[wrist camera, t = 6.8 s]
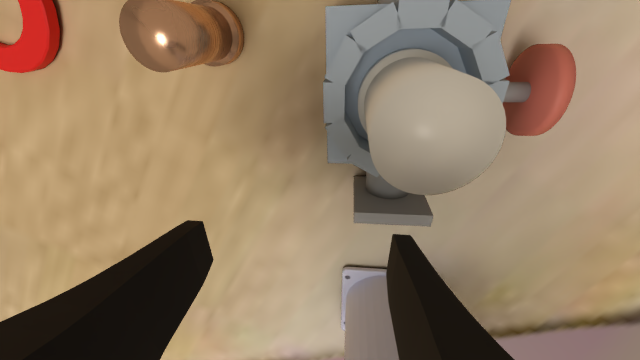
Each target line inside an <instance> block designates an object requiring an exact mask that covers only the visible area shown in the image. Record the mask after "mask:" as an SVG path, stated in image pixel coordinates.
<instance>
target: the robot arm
mask: <svg viewBox="0 0 640 360" xmlns="http://www.w3.org/2000/svg"><path fill="white" fill-rule="evenodd" d="M212 262H213V256H212V253H211V249H210V246H209V242H208V239H207V235H206V231H205V228H204V224H203V221H189V220H188V221H186V222H184V223H182V224H180V225H179V226H177V227H175V228H174V229H172V230H170V231H169V232H167V233H166V234H164V235H162V236H161V237H159V238H158V239H156V240H154V241H153V242H151V243H150V244H148V245H146V246H145V247H143V248H142V249H140V250H138V251H137V252H135V253H134V254H132V255H130V256H129V257H127V258H125V259H124V260H122V261H120V262H118V263H117V264H115V265H113V266H111V267H110V268H108V269H106V270H105V271H103V272H101V273H99V274H98V275H96V276H94V277H92V278H91V279H89V280H87V281H85V282H83V283H81V284H79V285H77V286H76V287H74V288H72V289H70V290H68V291H66V292H64V293H62V294H60V295H58V296H56V297H54V298H52V299H50V300H48V301H46V302H44V303H41V304H39V305H37V306H35V307H32V308H30V309H28V310H26V311H24V312H21V313H19V314H17V315H15V316H13V317H10V318H8V319H6V320H4V321H2V322H0V360H160V358H161V356H162V354H163V352H164V351H165V349H166V347H167V345H168V343H169V342H170V340H171V338H172V336H173V335H174V333H175V331H176V330H177V328H178V326H179V325H180V323H181V321H182V320H183V318H184V316H185V315H186V313H187V311H188V309H189V308H190V306H191V304H192V303H193V301H194V299H195V298H196V296H197V294H198V292H199V291H200V289H201V287H202V285H203V283H204V281H205V279H206V277H207V274H208V272H209V270H210V267H211V265H212ZM346 275H348V276H346ZM341 329H342V330H344V331H345V353H344V360H514V359H513V358H512V357H511V356H510V355H509V354H508V353H507V352H506V351H505V350H504V349H503V348H502V347H501V346H500V345H499V344H498V343H497V342H496V341H495V340H494V339H493V338H492V337H491V336H490V335H489V334H488V332H487V331H486V330H485V329H484V328H483V327H482V326H481V325H480V324H479V323H478V322H477V321H476V319H475V318H474V317H473V316H472V315H471V314H470V313H469V312H468V310H467V309H466V308H465V307H464V306H463V305H462V303H461V302H460V301H459V300H458V299H457V297H456V296H455V295H454V294H453V292H452V291H451V290H450V289H449V288H448V286H447V285H446V284H445V282H444V281H443V280H442V278H441V277H440V276H439V275H438V273H437V272H436V271H435V269H434V268H433V267H432V265H431V264H430V262H429V261H428V260H427V258H426V257H425V255H424V254H423V253H422V251H421V250H420V248H419V247H418V245H417V244H416V242H415V241H414V239H413V238H412V237H411V236H410V235H398V234H393V236H392V242H391V248H390V254H389V260H388V266H387V269H375V268H359V267H345V268H343V270H342V313H341Z"/></svg>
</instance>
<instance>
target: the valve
mask: <svg viewBox="0 0 640 360" xmlns="http://www.w3.org/2000/svg"><path fill="white" fill-rule="evenodd" d="M510 2H511V0H471V1H458V0H452V1H450V0H378V4H371V5H346V6H326V75H325V80H324V82H323V104H324V123H326V126H325V128H326V130H327V154H328V163H351V164H353V165H355V166H357V167H359V168H360V169H362V170H364V171H366V176H354V223H367V224H388V225H410V226H431V223H432V219H433V214H432V212H431V209H430V207H429V205H428V203H427V200H426V198H425V196H424V195H418V194H412V193H407V192H405V191H402V190H399V189H397V188H395V187H394V186H392V185H391V184H389V183H388V182H387V181H386V180H384V179H383V178H382V176H381V175H380V174H379V173H378V171H377V170H376V168H375V166H374V164H373V161H372V158H371V155H370V148H369V141H368V134H367V132H366V131H365V130H364V128H363V126H362V124H361V122H360V118H359V114H358V92H359V88H360V85H361V82H362V80H363V78H364V76H365V75H366V73H367V72H368V70H369V69H370V68H371V67H372V66H373V65H374V64H375V63H376V62H377V61H378V60H379V59H381V58H382V57H384V56H385V55H387V54H389V53H391V52H394V51H397V50H401V49H407V48H416V49H422V50H426V51H430V52H432V53H435V54H437V55H439V56H440V57H442V58H443V59H444V60H446V61H447V62H448V63H449V64H450V66H451V67H452V68H453V69H455V70H458V71H460V72H463V73H465V74H468V75H471V76H473V77H476V78H478V79H480V80H481V81H483V82H485V83H486V84H487V85H489V86H490V87H491V88H492V89H493V90H494V91H495V93H496V94H497V95H498V97H499V98H500V100H501V102H502V104H503V107H504V110H505V115H506V129H507V131H508V132H510V133H511V134H513V135H518V136H536V135H540V134H543V133H544V132H546V131H548V130H549V129H551V128H552V127H553V126H554V125H555V124H556V123H557V122H558V121H559V120H560V118H561V117H562V115H563V114H564V112H565V111H566V109H567V107H568V105H569V103H570V100H571V98H572V95H573V91H574V87H575V82H576V66H575V61H574V58H573V56H572V54H571V52H570V51H569V49H568V48H566V47H565V46H563V45H561V44H536V45H533V46H531V47H529V48H527V49H526V50H524V51H523V52H522V53H521V54H520V55H519V56H518V57H517V59H516V60H515V61H514V63H513V64H512V66H511V68H510V70H508V67H507V63H506V59H505V56H504V52H503V48H502V45H501V41H500V39H501V35H502V31H503V28H504V24H505V20H506V17H507V13H508V9H509V6H510ZM505 77H506V78H505ZM503 78H505V79H503Z"/></svg>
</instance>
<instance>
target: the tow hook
mask: <svg viewBox="0 0 640 360" xmlns="http://www.w3.org/2000/svg"><path fill="white" fill-rule="evenodd" d="M18 2H19V4H20V8H21V12H22V16H23V31H22V34H21V37H20V39H19V40H18V41H17V42H16V43H15V44H13V45H6V44H3V43H0V69H1V70H4V71H8V72H18V73H24V72H30V71H35V70H39V69H42V68H45V67H46V66H47V65H48V64H49V63H51V62H52V61H53V60H54V58H55V55H56V53H57V51H58V48H59V36H60V29H59V23H58V18H57V13H56V9H55V6H54V4H53V1H52V0H18Z"/></svg>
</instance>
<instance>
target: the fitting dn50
mask: <svg viewBox="0 0 640 360" xmlns="http://www.w3.org/2000/svg"><path fill="white" fill-rule="evenodd" d="M358 114H359V118H360V122H361V124H362V126H363V128H364V130H365V131H366V132H367V134H368V141H369V148H370V155H371V158H372V161H373V164H374V166H375V168H376V170H377V171H378V173H379V174H380V175H381V176H382V178H383V179H384V180H386V181H387V182H388V183H389V184H391V185H392V186H394V187H395V188H397V189H399V190H402V191H405V192H407V193H412V194H418V195H435V194H442V193H446V192H450V191H453V190H456V189H458V188H460V187H462V186H464V185H466V184H468V183H470V182H471V181H473V180H474V179H476V178H477V177H478V176H479V175H481V174H482V173H483V172H484V171H485V170H486V169H487V168H488V167H489V166H490V164H491V163H492V162H493V160H494V159H495V158H496V156H497V154H498V152H499V151H500V148H501V146H502V144H503V140H504V137H505V132H506V115H505V110H504V107H503V104H502V102H501V100H500V98H499V97H498V95H497V94H496V93H495V91H494V90H493V89H492V88H491V87H490V86H489V85H487V84H486V83H485V82H483V81H481V80H480V79H478V78H476V77H473V76H471V75H468V74H465V73H463V72H460V71H458V70H455V69H453V68H452V67H451V66H450V64H449V63H448V62H447V61H446V60H444V59H443V58H442V57H440V56H439V55H437V54H435V53H432V52H430V51H426V50H422V49H416V48H407V49H401V50H397V51H394V52H391V53H389V54H387V55H385V56H384V57H382V58H381V59H379V60H378V61H377V62H376V63H375V64H374V65H373V66H372V67H371V68H370V69H369V70H368V72H367V73H366V75H365V76H364V78H363V80H362V82H361V85H360V88H359V92H358Z"/></svg>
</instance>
